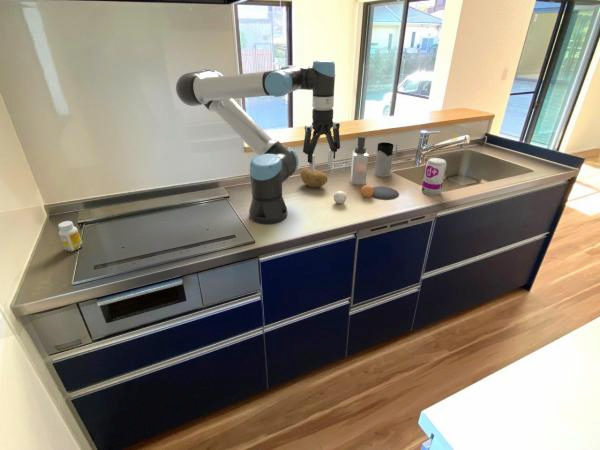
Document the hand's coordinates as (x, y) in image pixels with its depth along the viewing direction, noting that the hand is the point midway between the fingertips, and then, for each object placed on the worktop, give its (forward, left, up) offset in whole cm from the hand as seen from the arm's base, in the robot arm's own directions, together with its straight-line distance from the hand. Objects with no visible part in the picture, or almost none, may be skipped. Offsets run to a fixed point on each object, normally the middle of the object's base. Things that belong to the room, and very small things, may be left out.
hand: (321, 168), depth 134 cm
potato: (+8, +21, -17) cm, 29 cm away
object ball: (+23, 0, -14) cm, 28 cm away
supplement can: (+52, -9, -17) cm, 56 cm away
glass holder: (+50, +20, -17) cm, 57 cm away
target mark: (+32, 0, -17) cm, 37 cm away
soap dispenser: (+30, +17, -17) cm, 39 cm away
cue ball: (+9, 0, -14) cm, 17 cm away
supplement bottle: (-90, +12, -17) cm, 92 cm away
